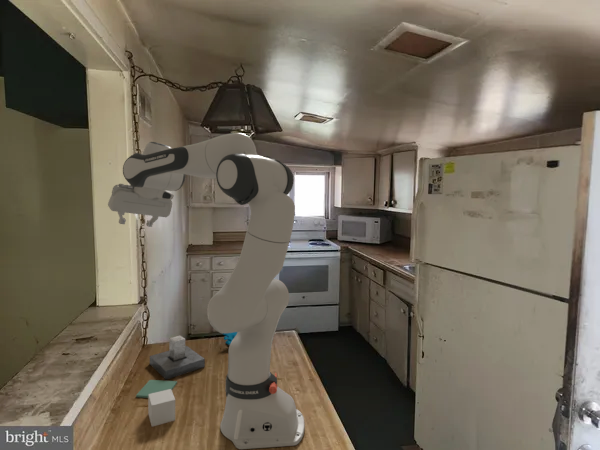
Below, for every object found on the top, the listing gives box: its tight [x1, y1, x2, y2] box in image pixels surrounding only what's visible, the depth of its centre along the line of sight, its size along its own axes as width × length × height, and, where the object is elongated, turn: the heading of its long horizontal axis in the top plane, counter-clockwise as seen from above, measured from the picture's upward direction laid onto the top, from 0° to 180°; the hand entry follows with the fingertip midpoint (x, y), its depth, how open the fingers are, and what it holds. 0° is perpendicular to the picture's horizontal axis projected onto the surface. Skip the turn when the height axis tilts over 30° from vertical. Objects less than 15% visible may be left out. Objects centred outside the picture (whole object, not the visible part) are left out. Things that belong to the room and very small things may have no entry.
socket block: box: [149, 345, 206, 381], centre depth 127 cm, size 14×14×3 cm
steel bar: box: [168, 335, 186, 362], centre depth 127 cm, size 4×4×10 cm
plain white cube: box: [147, 389, 176, 427], centre depth 98 cm, size 6×6×6 cm
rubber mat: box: [135, 379, 178, 399], centre depth 111 cm, size 9×9×1 cm
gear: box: [222, 332, 238, 346], centre depth 147 cm, size 11×6×10 cm
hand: (135, 224), depth 124 cm, fingers open, 8 cm apart
